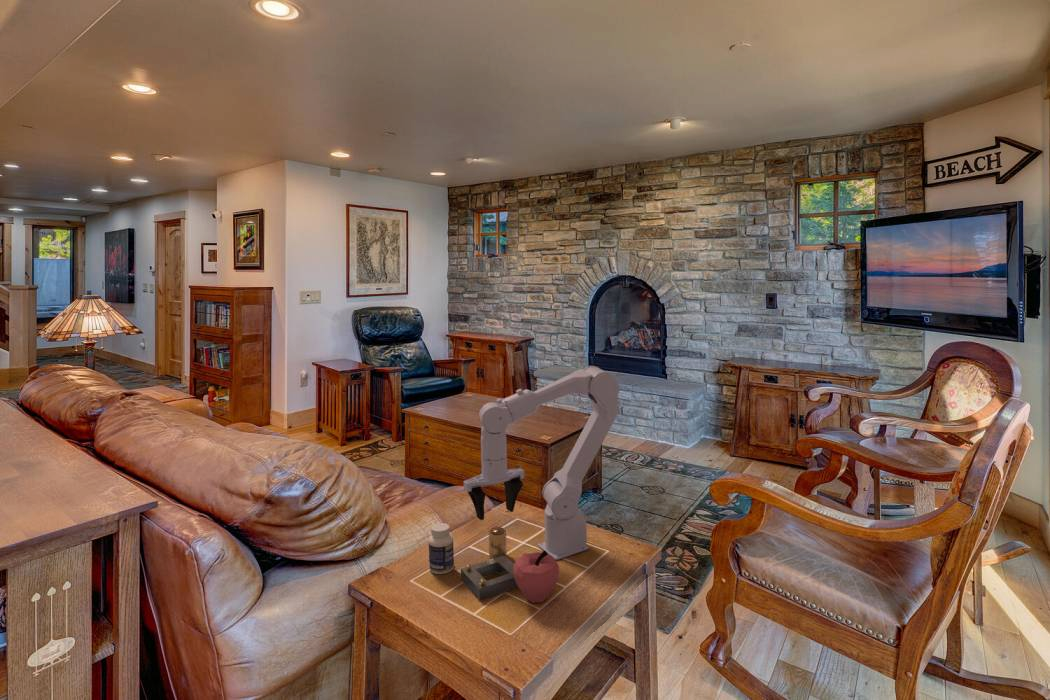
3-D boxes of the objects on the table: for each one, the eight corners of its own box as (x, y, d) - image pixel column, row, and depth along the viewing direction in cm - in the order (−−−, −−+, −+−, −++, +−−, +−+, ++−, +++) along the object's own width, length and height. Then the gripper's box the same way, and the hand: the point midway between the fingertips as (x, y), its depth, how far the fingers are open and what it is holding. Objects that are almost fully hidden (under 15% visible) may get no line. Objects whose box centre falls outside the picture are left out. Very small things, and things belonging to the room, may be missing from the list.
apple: (532, 581, 117) (531, 536, 116) (567, 594, 112) (567, 547, 111) (505, 603, 109) (503, 556, 108) (541, 618, 104) (541, 569, 103)
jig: (504, 565, 123) (504, 551, 123) (525, 584, 116) (524, 569, 115) (461, 579, 118) (460, 564, 117) (479, 600, 110) (479, 584, 110)
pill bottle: (449, 576, 119) (447, 533, 118) (425, 573, 120) (424, 531, 119) (457, 563, 125) (455, 522, 123) (434, 561, 126) (433, 520, 124)
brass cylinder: (501, 550, 130) (500, 524, 129) (509, 557, 127) (509, 531, 126) (486, 555, 128) (485, 528, 127) (494, 562, 125) (493, 535, 124)
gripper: (512, 446, 131) (513, 500, 133) (456, 457, 123) (458, 515, 125) (528, 454, 125) (529, 511, 127) (470, 466, 117) (472, 527, 119)
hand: (495, 514), depth 126 cm, fingers open, 7 cm apart
